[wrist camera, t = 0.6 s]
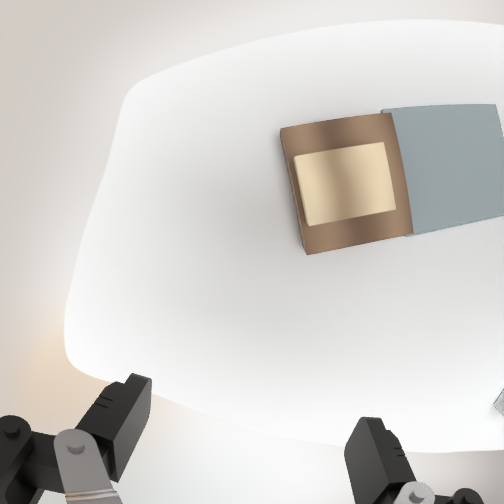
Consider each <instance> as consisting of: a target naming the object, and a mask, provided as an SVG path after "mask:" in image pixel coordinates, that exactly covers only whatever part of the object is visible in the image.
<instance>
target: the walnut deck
mask: <svg viewBox="0 0 504 504" xmlns="http://www.w3.org/2000/svg"><path fill="white" fill-rule="evenodd" d="M280 138H281V142H282V146H283V151H284V155H285V160H286V164H287V169H288V173H289V178H290V183H291V188H292V192H293V197H294V202H295V207H296V212H297V217H298V222H299V227H300V232H301V237H302V242H303V247H304V250H305V252H306V254H307V255H311V254H316V253H321V252H326V251H331V250H336V249H341V248H346V247H351V246H355V245H360V244H365V243H370V242H375V241H380V240H384V239H389V238H394V237H399V236H403V235H408V234H413V233H414V232H413V223H412V216H411V209H410V202H409V195H408V189H407V183H406V177H405V172H404V167H403V162H402V157H401V152H400V147H399V142H398V138H397V134H396V129H395V125H394V121H393V117H392V113H391V112H390V113H380V114H371V115H363V116H355V117H348V118H340V119H334V120H327V121H321V122H314V123H309V124H303V125H297V126H292V127H286V128H281V130H280ZM380 142H384V146H385V151H386V155H387V160H388V165H389V170H390V176H391V181H392V187H393V192H394V198H395V205H396V210H391V211H385V212H380V213H375V214H370V215H364V216H359V217H354V218H349V219H344V220H338V221H333V222H328V223H323V224H318V225H313V226H309V225H308V224H307V223H306V218H305V213H304V208H303V203H302V198H301V193H300V189H299V184H298V179H297V174H296V170H295V165H294V161H293V158H294V157H295V156H299V155H305V154H310V153H316V152H321V151H327V150H333V149H339V148H346V147H352V146H359V145H365V144H372V143H380Z"/></svg>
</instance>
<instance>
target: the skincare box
mask: <svg viewBox="0 0 504 504" xmlns="http://www.w3.org/2000/svg"><path fill="white" fill-rule="evenodd" d="M494 406H495V407H496V409H497V410H498V411H499V412H500V413H501V415H502V416H503V417H504V390H503V391H502V393H501V394H500V396H499V398H498V399H497V401H496V402H495V403H494Z"/></svg>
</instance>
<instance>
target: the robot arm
mask: <svg viewBox="0 0 504 504" xmlns="http://www.w3.org/2000/svg"><path fill="white" fill-rule="evenodd" d="M151 388H152V380H151V378H147V377H144V376H141V375H137V374H134V373H132V374H131V375H130V376H129V377H128V379H127V380H126V382H125V383H124V384H123V383H120V382H117V381H116V382H114V383H112V384H110V385H108V386H106V387H105V388H104V390H103V391H102V392H101V394H100V395H99V397H98V398H97V399H96V401H95V402H94V404H92V406H91V407H90V408H89V410H88V411H87V412H86V414H85V415H84V417H83V418H82V419H81V421H80V422H79V423H78V425H77V426H76V427H75V429H68V430H64V431H62V432H60V433H59V434H58V435H56V436H54V435H48V434H43V433H38V432H34V431H31V428H30V425H29V424H28V423H27V421H25V420H24V419H22V418H21V417H18V416H13V415H8V416H3V417H1V418H0V504H37V503H38V501H39V500H40V498H41V496H42V494H43V492H44V490H49V491H53V492H58V493H63V494H66V496H65V497H66V501H67V504H123V503H122V501H121V499H120V497H119V495H118V493H117V492H116V491H114V489H113V487H112V484H111V482H110V480H112V481H114V482H117V483H118V482H119V480H120V478H121V475H122V473H123V471H124V469H125V467H126V465H127V463H128V461H129V458H130V456H131V455H132V452H133V450H134V448H135V446H136V444H137V442H138V440H139V438H140V436H141V434H142V431H143V429H144V428H145V425H146V423H147V421H148V418H149V414H150V405H151ZM344 457H345V462H346V466H347V470H348V474H349V478H350V482H351V487H352V491H353V495H354V499H355V504H484V503H483V501H482V499H481V497H480V496H479V494H478V493H477V492H475V491H474V490H472V489H469V488H462V489H459V490H458V491H456V492H455V494H454V495H453V496H452V497H448V496H440V495H434V492H433V491H432V489H431V488H430V487H429V486H428V485H426V484H424V483H421V482H417V481H416V478H415V476H414V474H413V472H412V469H411V467H410V465H409V462H408V460H407V458H406V457H405V453H404V451H403V449H402V447H401V444H400V442H399V440H398V438H397V437H396V436H395V435H394V434H393V433H392V432H391V431H390V430H386V429H385V426H384V424H383V422H382V420H381V418H374V417H361V418H360V419H359V421H358V423H357V425H356V427H355V428H354V430H353V432H352V434H351V436H350V438H349V440H348V442H347V444H346V446H345V451H344Z"/></svg>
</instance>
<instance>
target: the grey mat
mask: <svg viewBox="0 0 504 504" xmlns="http://www.w3.org/2000/svg"><path fill="white" fill-rule="evenodd" d="M390 112H391V113H392V117H393V121H394V125H395V129H396V134H397V138H398V142H399V147H400V152H401V157H402V162H403V167H404V172H405V177H406V183H407V189H408V195H409V202H410V209H411V216H412V223H413V232H414V233H413V234H408V235H404V236H406V237H408V236H413V235H417V234H422V233H427V232H431V231H436V230H441V229H445V228H450V227H454V226H459V225H463V224H468V223H472V222H477V221H481V220H486V219H490V218H495V217H499V216H503V215H504V138H503V134H502V129H501V124H500V120H499V116H498V112H497V108H496V105H490V104H471V105H437V106H419V107H405V108H394V109H383V110H381V113H390Z"/></svg>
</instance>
